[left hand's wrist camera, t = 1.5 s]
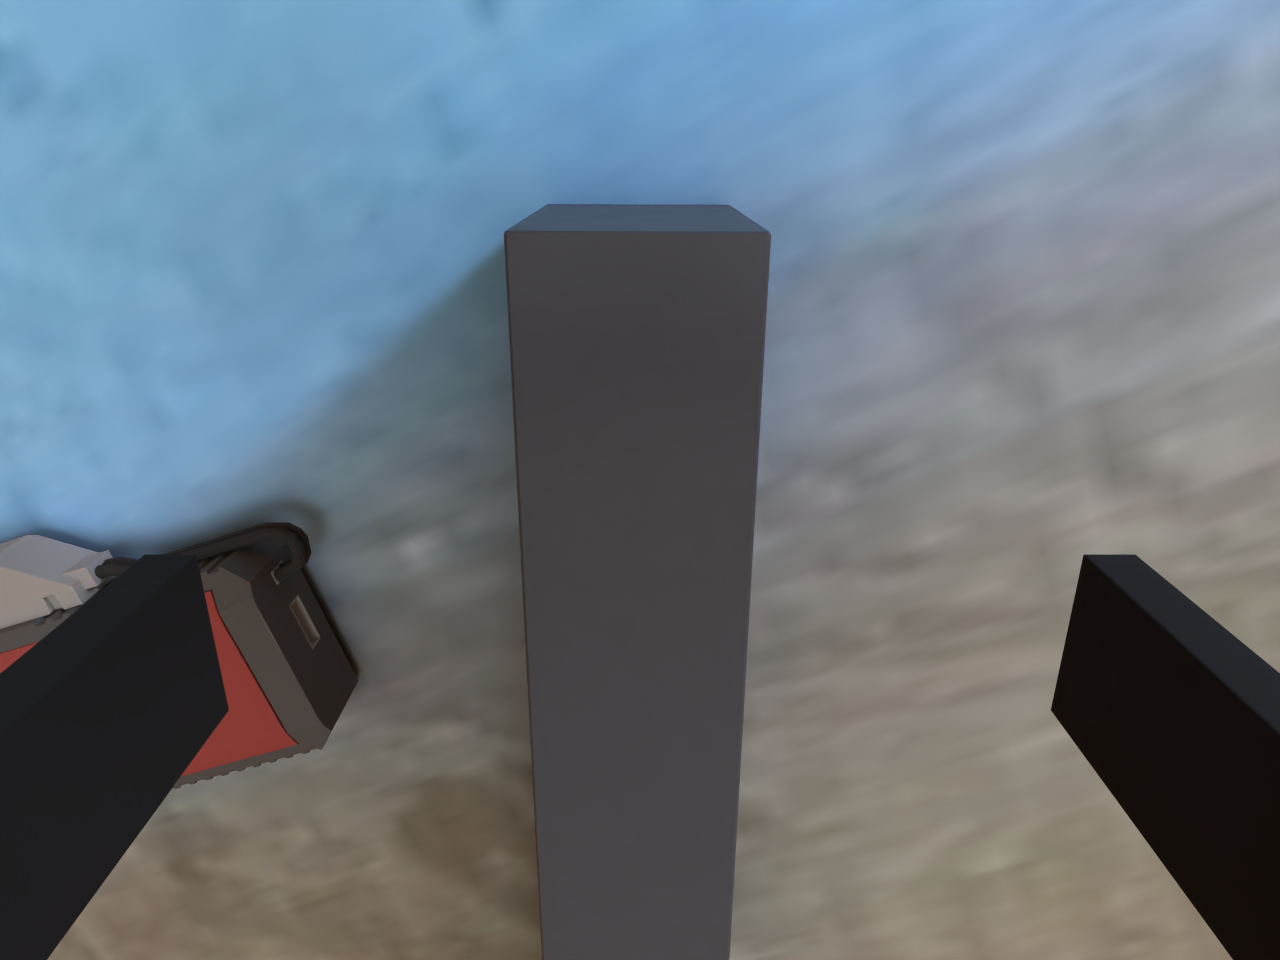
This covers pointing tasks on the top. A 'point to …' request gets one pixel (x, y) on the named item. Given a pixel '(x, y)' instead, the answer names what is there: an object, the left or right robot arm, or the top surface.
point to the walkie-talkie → (242, 628)
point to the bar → (636, 561)
